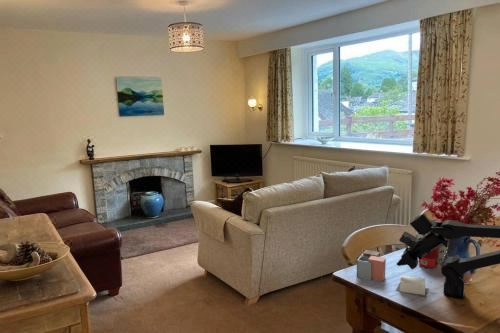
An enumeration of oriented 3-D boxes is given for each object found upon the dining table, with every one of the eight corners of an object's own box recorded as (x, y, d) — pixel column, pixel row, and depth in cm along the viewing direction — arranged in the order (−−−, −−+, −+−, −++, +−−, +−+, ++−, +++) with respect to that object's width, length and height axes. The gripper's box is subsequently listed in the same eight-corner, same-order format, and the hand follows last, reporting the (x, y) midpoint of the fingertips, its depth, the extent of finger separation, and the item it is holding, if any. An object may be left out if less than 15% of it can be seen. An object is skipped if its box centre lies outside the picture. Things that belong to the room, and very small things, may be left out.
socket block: (377, 270, 177) (378, 253, 176) (370, 280, 168) (371, 262, 167) (364, 268, 180) (364, 251, 179) (356, 277, 171) (356, 260, 170)
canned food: (439, 269, 177) (441, 245, 175) (420, 268, 178) (421, 245, 176) (435, 262, 184) (436, 239, 182) (417, 261, 186) (417, 238, 184)
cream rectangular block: (424, 288, 160) (425, 278, 159) (424, 295, 154) (425, 285, 153) (400, 284, 163) (400, 275, 162) (399, 291, 157) (400, 281, 157)
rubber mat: (429, 290, 159) (429, 288, 159) (425, 299, 152) (425, 297, 152) (399, 283, 165) (399, 282, 165) (395, 292, 158) (395, 290, 158)
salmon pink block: (385, 278, 170) (385, 258, 168) (382, 282, 166) (383, 261, 165) (370, 275, 173) (371, 255, 171) (368, 279, 170) (368, 259, 168)
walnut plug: (379, 271, 176) (379, 252, 175) (376, 275, 173) (377, 255, 171) (365, 269, 179) (365, 249, 178) (362, 272, 176) (363, 253, 174)
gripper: (417, 220, 166) (389, 241, 174) (408, 234, 150) (377, 256, 158) (437, 242, 163) (407, 262, 171) (429, 258, 148) (397, 279, 155)
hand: (397, 264), depth 164 cm, fingers closed
